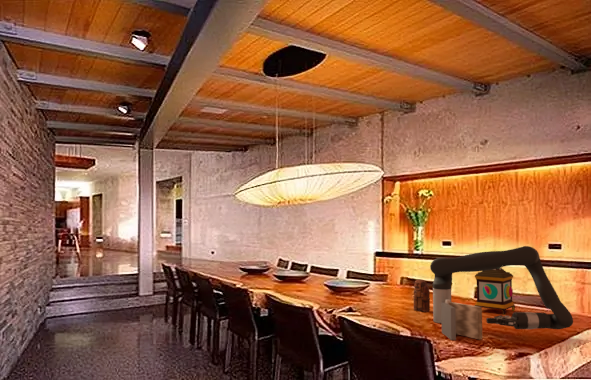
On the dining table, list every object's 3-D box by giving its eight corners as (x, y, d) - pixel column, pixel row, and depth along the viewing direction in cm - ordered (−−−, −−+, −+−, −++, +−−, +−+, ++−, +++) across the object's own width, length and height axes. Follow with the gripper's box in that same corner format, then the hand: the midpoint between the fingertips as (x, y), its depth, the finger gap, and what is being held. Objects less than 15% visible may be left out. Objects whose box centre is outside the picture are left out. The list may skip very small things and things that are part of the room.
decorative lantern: (518, 310, 277) (516, 259, 279) (507, 315, 263) (505, 261, 265) (483, 306, 291) (482, 257, 293) (471, 311, 276) (470, 259, 278)
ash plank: (449, 332, 222) (448, 302, 223) (452, 331, 223) (451, 301, 224) (479, 339, 209) (478, 307, 210) (482, 338, 210) (481, 307, 211)
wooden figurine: (409, 309, 281) (409, 278, 282) (417, 308, 284) (416, 278, 286) (425, 312, 271) (424, 281, 272) (432, 311, 275) (432, 280, 276)
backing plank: (440, 331, 226) (439, 299, 227) (450, 331, 226) (449, 299, 226) (451, 340, 209) (450, 305, 210) (462, 340, 209) (461, 305, 210)
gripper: (518, 309, 221) (481, 309, 221) (532, 315, 208) (492, 315, 208) (518, 325, 221) (481, 326, 221) (532, 332, 207) (493, 332, 207)
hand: (487, 320), depth 214 cm, fingers closed
